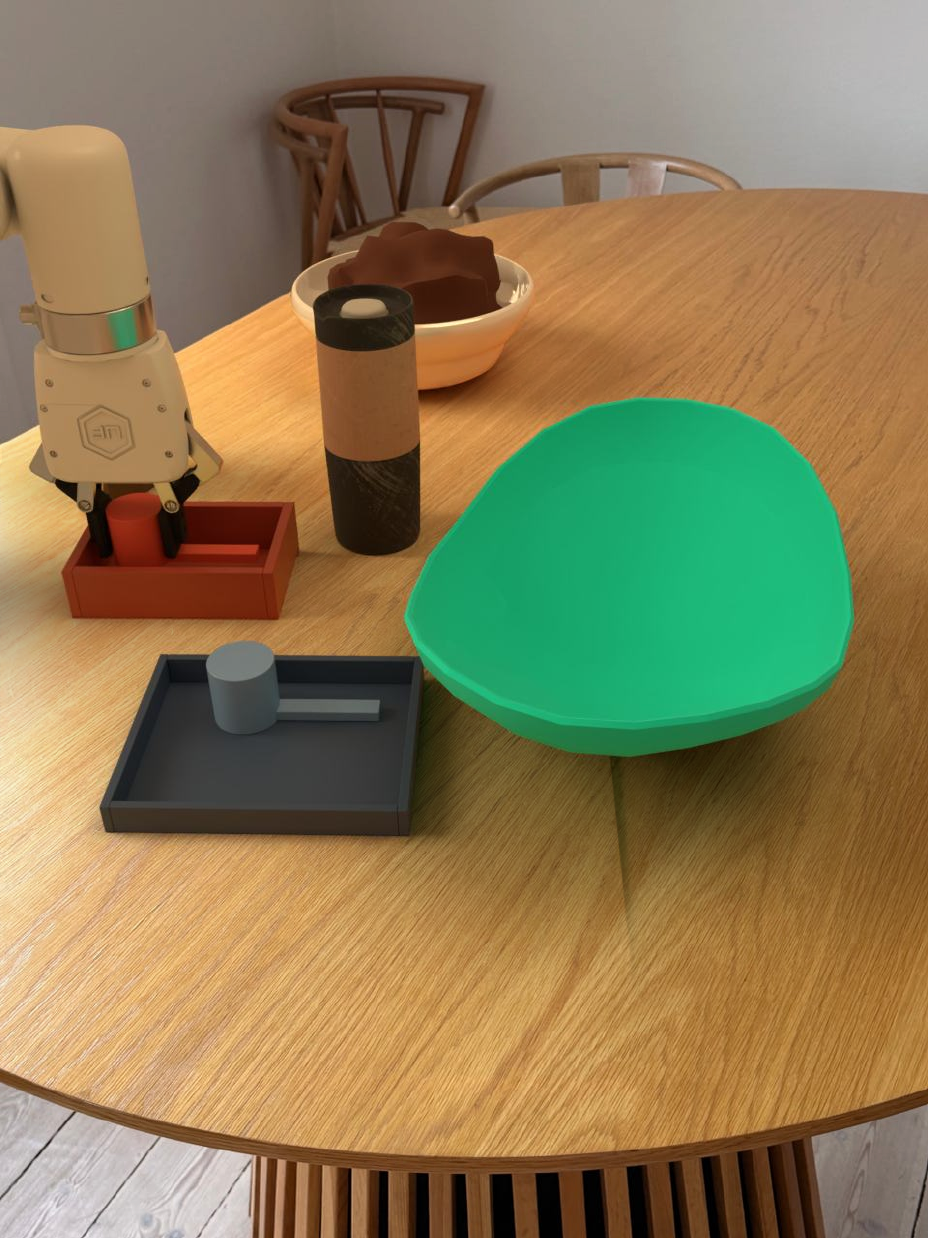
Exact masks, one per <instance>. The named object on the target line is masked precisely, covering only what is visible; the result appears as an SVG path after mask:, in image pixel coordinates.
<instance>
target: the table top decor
mask: <svg viewBox="0 0 928 1238" xmlns="http://www.w3.org/2000/svg"><path fill="white" fill-rule="evenodd" d="M844 542H845V541H844V537H843V532H842V528H841V523H840V519H839V514H838V513H837V510H836V509H835V507H834V505H833V503H832V500H831V499H830V497H829V494H828V493H827V492H826V490H825V487H824V486H823V484H822V481H821V480H820V478H819V476H818V474H817V472H816V470H815V468H814V466H813V465H812V464H811V462H810V461H809V460H808V459H806V457H805V456H803V455H802V453H800V451H798V450H797V449H796V448H795V446H793V444H792V443H790V442H789V440H787V438H785V436H783V435H782V433H780V432H779V431H778V430H777V428H775V427H774V426H771V425H769V424H767V423H766V422H764V421H761V420H759V419H756V418H755V417H753V416H750V415H748V414H746V413H744V412H742V411H740V410H738V409H735V408H734V407H729V406H725V405H719V404H714V403H709V402H705V401H699V400H695V399H690V398H689V399H688V398H673V397H645V396H644V397H643V396H642V397H641V396H638V397H632V398H626V399H622V400H615V401H609V402H603V403H600V404H593V405H589V406H587V407H585V408H583V409H581V410H578V411H576V412H575V413H573V414H571V415H569V416H567V417H564V418H563V419H561V420H559V421H557V422H554V423H552V424H551V425H549V426H547V427H544V428H543V429H541V430H540V431H539V432H538V433H537V434H535V436H533V437H532V438H531V439H529V441H527V442H526V443H525V444H524V445H523V446H521V447H520V448H519V449H518V450H517V451H516V452H514V454H512V455H511V456H509V457H508V458H507V459H506V460H505V461H504V462H502V463H501V464H500V465H499V466H498V467H497V468H495V470H494V471H493V473H492V474H491V475H490V476H489V478H488V479H487V481H486V482H485V483H484V484H483V485H482V487H481V488H480V490H479V491H478V493H476V495H475V496H474V498H473V499H472V500H471V502H470V503H469V504H468V505H467V507H466V509H465V510H464V511H463V512H462V514H460V516H459V518H458V519H456V521H455V523H454V524H453V525H452V526H451V528H449V529H448V531H447V532H446V534H445V535H444V536H443V537H442V539H441V540H440V541H439V542H438V544H437V545H436V546H435V547H434V548H433V549H432V551H431V552H430V553H429V554H428V556H427V558H426V561H425V562H424V565H423V567H422V569H421V571H420V573H419V576H418V577H417V579H416V582H415V584H414V586H413V588H412V591H411V592H410V595H409V598H408V601H407V605H406V609H405V612H404V616H403V620H404V622H405V624H406V627H407V630H408V633H409V635H410V637H411V640H412V641H413V644H414V646H415V649H416V651H417V654H418V656H420V658H421V661H422V663H423V665H424V669H426V671H428V672H429V673H430V674H431V675H432V676H433V677H434V678H435V679H436V680H437V681H438V682H439V683H440V684H441V685H442V686H443V687H444V688H445V689H446V690H447V691H448V692H449V693H450V694H451V695H452V696H453V697H455V698H457V699H458V700H460V701H462V702H463V703H465V704H466V705H468V706H469V707H471V708H472V709H474V710H475V711H477V712H479V713H480V714H482V715H484V716H485V717H486V718H488V719H489V720H492V721H493V722H495V723H497V724H498V725H500V726H501V727H503V728H505V729H506V730H507V731H509V732H511V733H512V734H514V735H516V736H518V737H521V738H524V739H527V740H530V741H534V742H536V743H539V744H543V745H546V746H549V747H551V748H555V749H558V750H561V751H564V752H568V753H571V754H572V753H573V754H585V755H597V756H598V755H599V756H612V757H614V756H615V757H625V758H626V757H627V758H633V757H638V756H645V755H651V754H659V753H665V752H671V751H677V750H685V749H690V748H694V747H699V746H703V745H708V744H711V743H716V742H719V741H720V742H721V741H724V740H728V739H733V738H737V737H740V736H744V735H747V734H749V733H752V732H754V731H757V730H760V729H763V728H765V727H768V726H772V725H774V724H777V723H780V722H782V721H783V720H786V719H787V718H789V717H792V716H794V715H795V714H797V713H799V712H801V711H803V710H805V709H806V708H808V706H810V705H811V704H812V703H813V702H815V701H816V700H817V699H819V698H820V697H821V696H822V695H823V694H825V693H826V692H827V691H828V690H830V688H831V687H832V685H833V683H834V681H835V680H836V678H837V676H838V675H839V673H840V671H841V669H843V664H844V661H845V657H846V653H847V649H848V646H849V642H850V638H851V635H852V632H853V628H854V624H855V612H854V599H853V598H854V597H853V586H852V575H851V570H850V566H849V565H850V564H849V560H848V557H847V551H846V547H845V543H844Z"/></svg>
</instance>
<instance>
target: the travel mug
mask: <svg viewBox="0 0 928 1238" xmlns="http://www.w3.org/2000/svg"><path fill="white" fill-rule="evenodd" d="M313 312H314V321H315V334H316V339H315V344H316V360H317V371H318V386H319V397H320V411H321V425H322V436H323V448H324V455H325V463H326V472H327V480H328V488H329V495H330V496H329V498H330V505H331V512H332V520H333V527H334V534H335V538H336V540H337V542H338V543H339V545H340V546H341V547H343V548H345V549H347V550H348V551H350V552H352V553H353V552H354V553H356V554H362V555H368V556H369V555H370V556H371V555H372V556H378V555H379V556H380V555H381V556H382V555H388V554H394V553H396V552H400V551H403V550H405V549H407V548H408V547H410V546H412V545H413V544H414V543H415V542H416V541H417V540H418V539H419V536H420V533H421V428H420V427H421V426H420V405H419V403H420V402H419V390H418V383H417V362H416V341H415V320H414V302H413V298H412V296H411V295H410V294H409V293H408V292H406V291H405V290H402V289H400V288H397V287H393V286H388V285H381V284H356V285H348V286H342V287H338V288H334V289H331V290H328V291H326V292H324V293H322V294H321V295H319V296H318V297H317V298H316V299H315V301H314V303H313Z"/></svg>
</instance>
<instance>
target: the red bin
mask: <svg viewBox="0 0 928 1238" xmlns="http://www.w3.org/2000/svg"><path fill="white" fill-rule="evenodd" d="M183 504H184V510H185V516H186V522H187V528H188V538H187V541H186V543H182V544H203V545H259V549H260V554H259V558H258V561H257V563H245V562H168V563H167V564H166V565H164V566H162V567H118V566H117V564H116V562H115V557H114V552H113V553H112V555H111V556H110V557H109V558H100V555H99V550H98V546H97V543H93V542H92V540H91V536H90V532H89V527H88V524H87V526H86V527H85V529H84V531H83V532H82V534H81V536H80V538H79V539H78V541H77V543H76V545H75V546H74V549H73V550H72V552H71V554H70V555H69V557H68V559H67V561H66V563H65V564H64V566H63V568H62V569H61V572H60V573H61V577H62V581H63V585H64V590H65V594H66V597H67V602H68V606H69V611H70V614H71V619H78V620H80V619H82V620H86V619H88V620H90V619H91V620H92V619H93V620H95V619H96V620H97V619H98V620H205V621H206V620H208V621H209V620H214V621H215V620H219V621H220V620H221V621H224V620H225V621H227V620H228V621H231V620H232V621H279V620H280V617H281V613H282V609H283V606H284V603H285V599H286V595H287V591H288V587H289V584H290V581H291V577H292V574H293V570H294V566H295V562H296V558H298V556H299V552H300V545H299V544H300V543H299V533H298V525H297V523H298V522H297V515H296V505H295V501H217V500H216V501H215V500H214V501H210V500H209V501H207V500H206V501H205V500H204V501H201V500H200V501H199V500H197V501H196V500H195V501H194V500H192V501H191V500H189V501H187V500H186V501H185V502H184V503H183Z"/></svg>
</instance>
